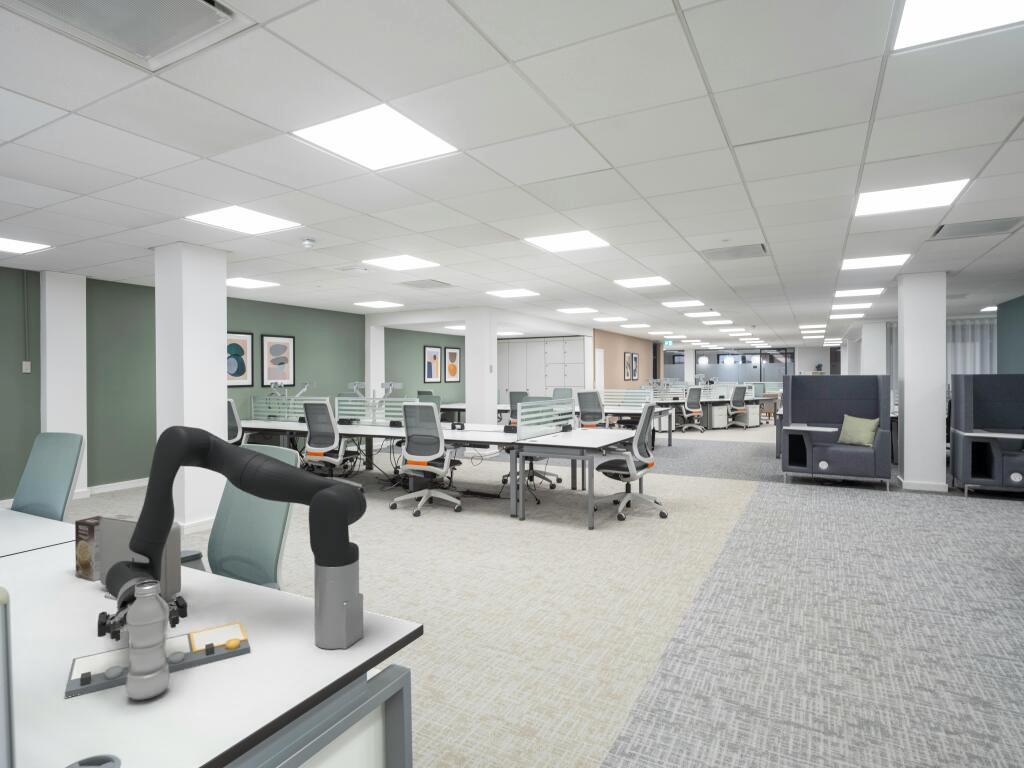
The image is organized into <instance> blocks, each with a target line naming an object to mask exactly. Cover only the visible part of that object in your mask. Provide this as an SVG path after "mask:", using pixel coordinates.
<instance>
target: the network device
mask: <svg viewBox="0 0 1024 768" xmlns="http://www.w3.org/2000/svg"><path fill="white" fill-rule="evenodd" d="M101 517H102V518H101V519H100V522H99V528H100V581H99V582H100V583H101V585H102V586H104V587H106V584H105V580H106V575H107V573H108V571H109V569H110V568H111V567H112V566H113V565H114V564H116V563H117V562H120V561H133V562H143V563H148V562H149V559H148V558H147V557H145V556H142V555H140V554H137V553H134V552H132V551H131V550H130V549H129V542H130V540H131V537H132V535H133V532H134V529H135V527H136V524H137V522H138V519H139V516H135V515H129V514H122V513H115V514H110V515H106V516H101ZM181 531H182V530H181V525H180V523H179V522H178V521H173V524H172V527H171V530H170V533H169V535H168V538H167V541H166V543H165V546H164V550H163V555H162V563H161V580H160V592H161V595H162V598H163V599H164V601H166V602H168V601H170V599H171V600H173V599H174V597H175V598H176V597H177V596H176V595H178V593H180V592H181V591H182V590H181V589H182V561H181V560H182V554H181V553H182V552H181V551H182V549H181V548H182V544H181V543H182V540H181V537H182V536H181V535H182V534H181V533H182V532H181ZM104 598H105V599H108V600H112V601H116V602H117V598H115V597H113V596H112V595H110V593H109V592H108V591H106V592H105V593H104Z"/></svg>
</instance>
